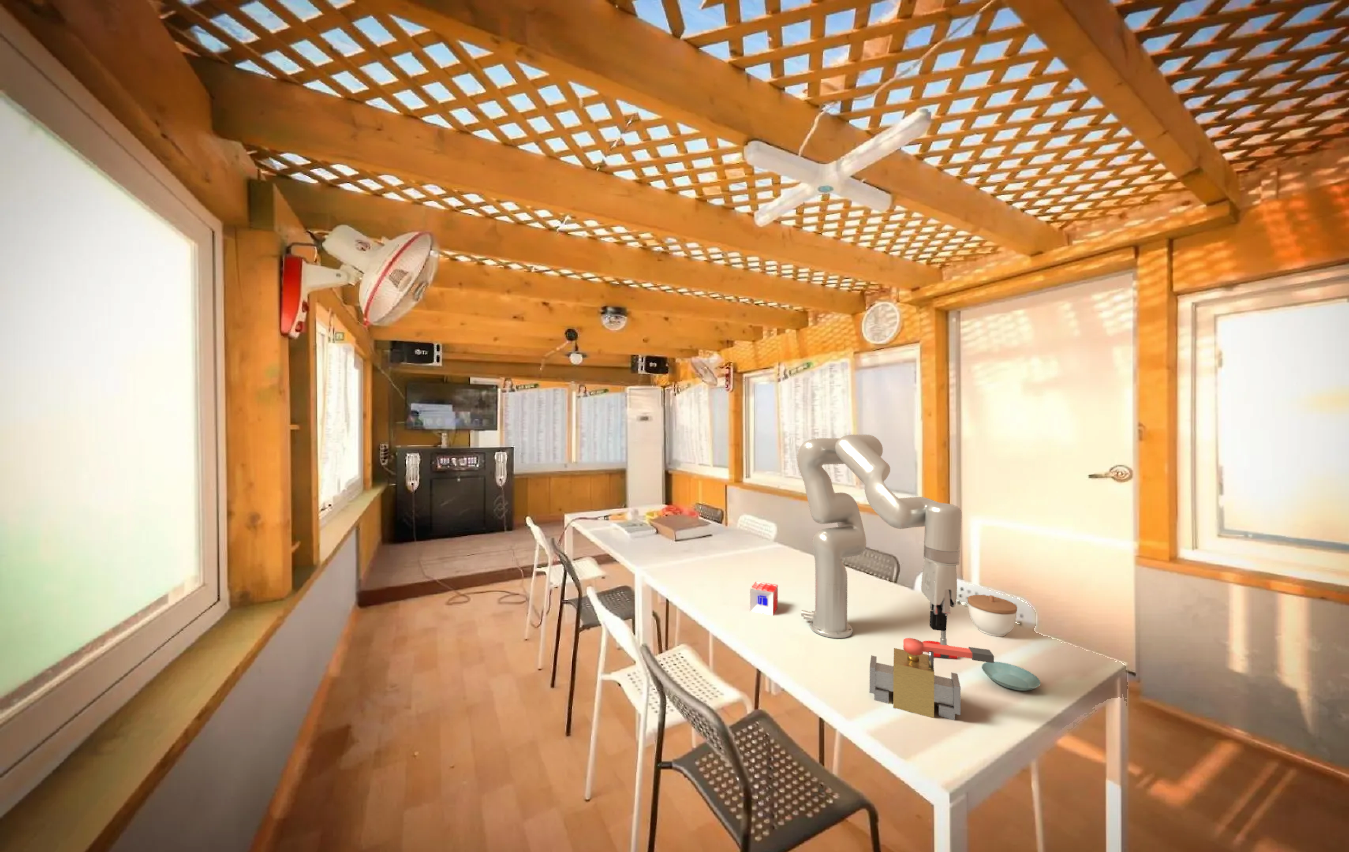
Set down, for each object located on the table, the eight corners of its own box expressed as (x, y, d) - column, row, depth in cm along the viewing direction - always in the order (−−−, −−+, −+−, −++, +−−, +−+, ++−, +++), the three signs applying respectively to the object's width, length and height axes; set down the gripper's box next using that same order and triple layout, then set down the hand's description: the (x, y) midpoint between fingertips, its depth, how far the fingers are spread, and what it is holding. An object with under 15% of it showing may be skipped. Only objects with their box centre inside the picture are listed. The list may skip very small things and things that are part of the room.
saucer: (1047, 686, 112) (1047, 676, 112) (1030, 702, 105) (1030, 693, 105) (992, 665, 121) (992, 656, 121) (973, 679, 114) (973, 670, 114)
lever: (905, 653, 103) (905, 644, 103) (902, 645, 107) (902, 636, 107) (994, 666, 97) (995, 657, 97) (988, 657, 101) (988, 648, 101)
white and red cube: (777, 607, 159) (777, 584, 159) (773, 615, 152) (773, 592, 152) (755, 603, 162) (755, 581, 162) (749, 611, 155) (749, 588, 155)
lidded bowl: (986, 620, 149) (986, 586, 149) (1027, 637, 137) (1027, 601, 137) (958, 625, 145) (958, 591, 145) (997, 643, 133) (997, 606, 133)
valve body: (869, 701, 104) (869, 643, 104) (871, 683, 112) (871, 629, 112) (960, 724, 96) (961, 661, 96) (956, 704, 104) (957, 645, 104)
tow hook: (915, 643, 134) (928, 657, 125) (915, 599, 134) (928, 610, 125) (946, 645, 133) (961, 660, 123) (946, 601, 133) (961, 612, 124)
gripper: (914, 544, 118) (911, 613, 118) (935, 563, 103) (931, 642, 104) (946, 547, 116) (942, 617, 117) (972, 566, 102) (968, 646, 102)
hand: (937, 628), depth 110 cm, fingers closed
